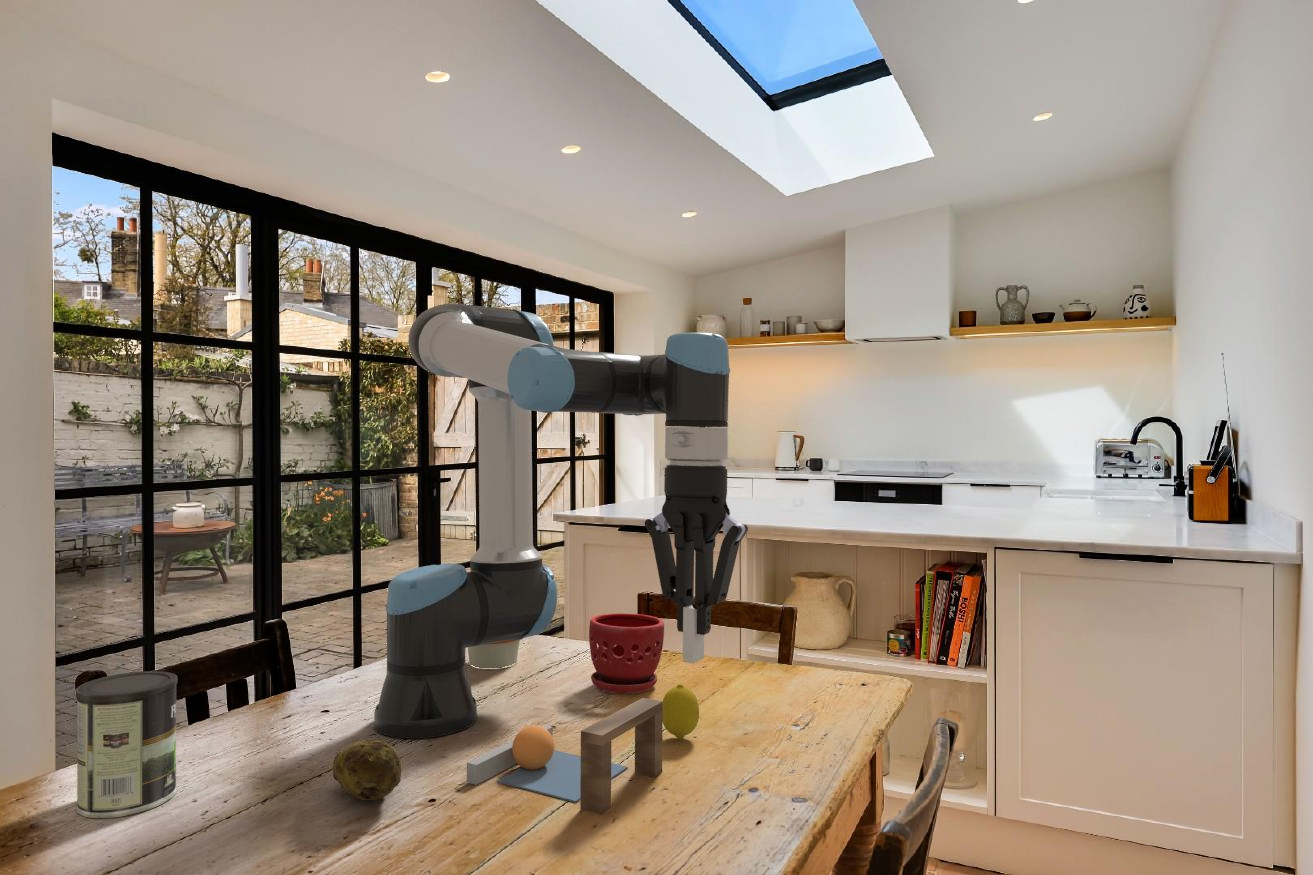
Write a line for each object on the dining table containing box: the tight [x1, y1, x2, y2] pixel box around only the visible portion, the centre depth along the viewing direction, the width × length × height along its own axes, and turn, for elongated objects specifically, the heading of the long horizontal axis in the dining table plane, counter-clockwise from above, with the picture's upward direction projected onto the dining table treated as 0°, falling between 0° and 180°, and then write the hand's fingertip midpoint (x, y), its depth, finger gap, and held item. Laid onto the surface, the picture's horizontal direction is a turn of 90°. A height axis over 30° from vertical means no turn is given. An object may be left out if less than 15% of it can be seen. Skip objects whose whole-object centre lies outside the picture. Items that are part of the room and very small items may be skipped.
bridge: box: [579, 697, 663, 816], centre depth 104 cm, size 3×14×9 cm, turn 151°
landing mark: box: [497, 749, 629, 804], centre depth 108 cm, size 12×12×1 cm
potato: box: [331, 739, 403, 801], centre depth 100 cm, size 8×13×8 cm, turn 16°
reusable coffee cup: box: [467, 640, 520, 668], centre depth 161 cm, size 13×13×15 cm
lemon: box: [662, 683, 700, 740], centre depth 121 cm, size 6×6×8 cm
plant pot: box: [588, 612, 665, 695], centre depth 147 cm, size 13×13×12 cm
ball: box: [512, 724, 555, 770], centre depth 110 cm, size 6×6×6 cm
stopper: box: [466, 724, 554, 786], centre depth 112 cm, size 2×16×2 cm, turn 151°
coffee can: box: [75, 670, 179, 819], centre depth 100 cm, size 10×10×14 cm
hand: (693, 659), depth 100 cm, fingers closed
